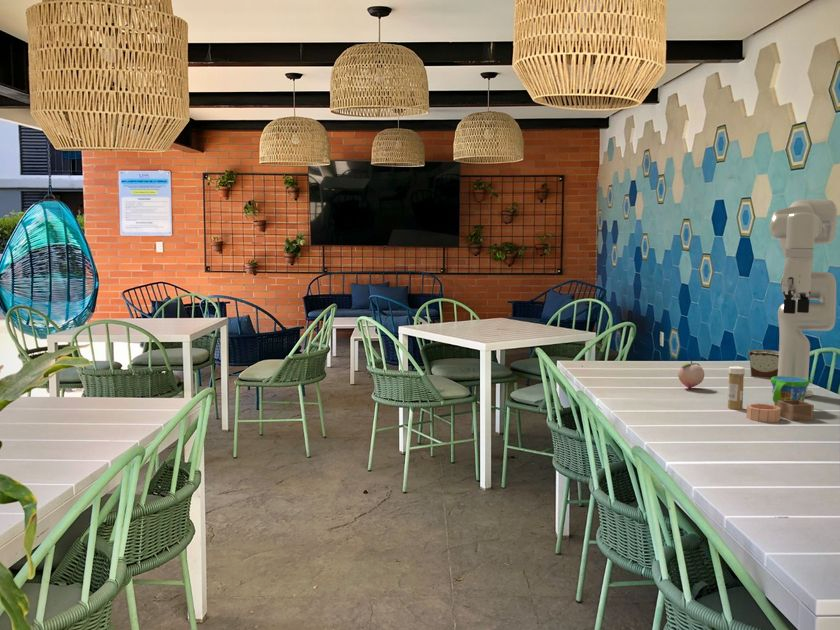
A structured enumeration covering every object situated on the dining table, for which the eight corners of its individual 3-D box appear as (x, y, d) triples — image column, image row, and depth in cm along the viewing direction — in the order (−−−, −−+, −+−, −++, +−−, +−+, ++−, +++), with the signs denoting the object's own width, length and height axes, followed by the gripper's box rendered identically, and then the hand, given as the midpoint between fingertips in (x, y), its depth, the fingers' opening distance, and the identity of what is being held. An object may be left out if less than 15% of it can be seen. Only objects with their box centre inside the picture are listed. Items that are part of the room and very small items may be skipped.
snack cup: (787, 405, 260) (788, 373, 259) (818, 411, 251) (820, 378, 250) (757, 410, 252) (759, 378, 251) (789, 417, 243) (790, 383, 242)
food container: (784, 377, 312) (785, 351, 311) (781, 379, 307) (782, 353, 306) (750, 374, 318) (751, 348, 317) (746, 376, 313) (748, 350, 312)
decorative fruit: (694, 392, 281) (695, 363, 280) (673, 388, 287) (674, 360, 286) (708, 388, 287) (710, 360, 286) (687, 385, 293) (688, 357, 292)
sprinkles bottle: (745, 411, 251) (747, 368, 249) (732, 412, 250) (734, 368, 248) (736, 408, 255) (738, 365, 254) (723, 408, 254) (725, 366, 253)
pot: (740, 417, 243) (741, 404, 242) (768, 416, 244) (769, 403, 243) (756, 424, 234) (757, 410, 233) (786, 423, 235) (786, 409, 235)
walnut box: (776, 417, 243) (777, 400, 243) (798, 416, 244) (799, 400, 244) (790, 422, 236) (791, 405, 236) (812, 421, 237) (813, 404, 237)
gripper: (798, 255, 249) (795, 311, 250) (773, 254, 237) (770, 313, 238) (823, 255, 244) (820, 313, 245) (800, 254, 232) (797, 314, 233)
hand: (796, 313), depth 241 cm, fingers open, 9 cm apart
